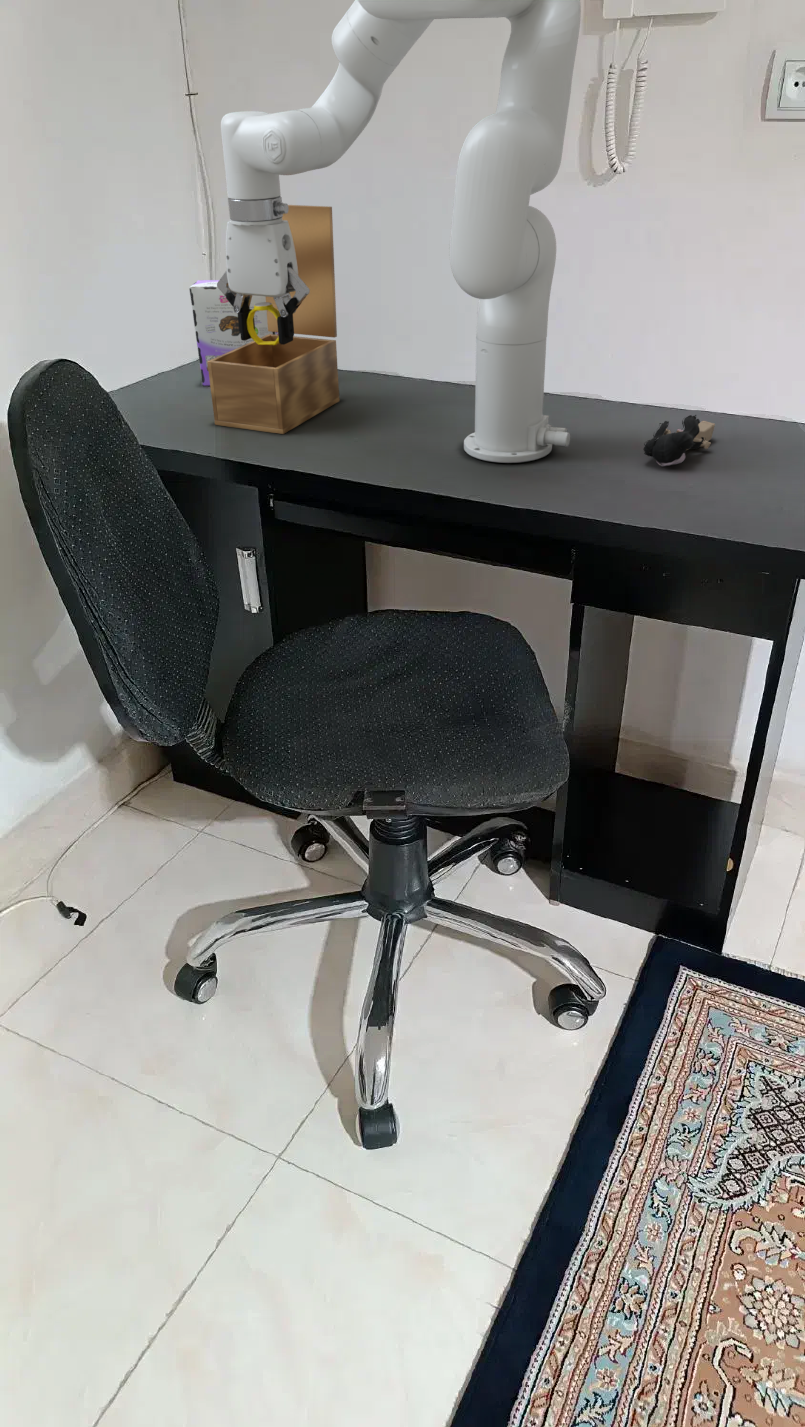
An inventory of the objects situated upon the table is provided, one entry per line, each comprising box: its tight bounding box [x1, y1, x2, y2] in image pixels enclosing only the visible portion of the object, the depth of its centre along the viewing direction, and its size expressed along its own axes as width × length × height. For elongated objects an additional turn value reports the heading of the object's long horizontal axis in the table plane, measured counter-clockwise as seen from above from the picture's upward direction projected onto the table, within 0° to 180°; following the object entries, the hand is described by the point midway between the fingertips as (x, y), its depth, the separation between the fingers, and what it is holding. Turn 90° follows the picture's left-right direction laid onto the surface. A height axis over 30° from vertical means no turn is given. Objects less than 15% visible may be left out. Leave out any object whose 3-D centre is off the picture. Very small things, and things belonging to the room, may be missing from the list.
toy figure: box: [643, 414, 716, 468], centre depth 145 cm, size 7×6×15 cm
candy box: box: [188, 279, 278, 387], centre depth 177 cm, size 14×6×16 cm, turn 84°
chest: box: [207, 334, 340, 435], centre depth 164 cm, size 18×12×10 cm
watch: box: [247, 302, 280, 345], centre depth 158 cm, size 6×3×6 cm, turn 66°
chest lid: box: [266, 204, 338, 339], centre depth 164 cm, size 19×12×5 cm
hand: (267, 339), depth 159 cm, fingers closed on watch, 6 cm apart
